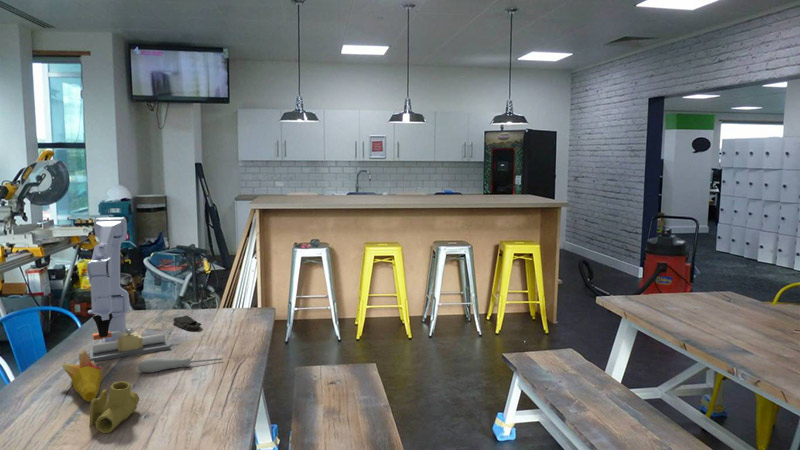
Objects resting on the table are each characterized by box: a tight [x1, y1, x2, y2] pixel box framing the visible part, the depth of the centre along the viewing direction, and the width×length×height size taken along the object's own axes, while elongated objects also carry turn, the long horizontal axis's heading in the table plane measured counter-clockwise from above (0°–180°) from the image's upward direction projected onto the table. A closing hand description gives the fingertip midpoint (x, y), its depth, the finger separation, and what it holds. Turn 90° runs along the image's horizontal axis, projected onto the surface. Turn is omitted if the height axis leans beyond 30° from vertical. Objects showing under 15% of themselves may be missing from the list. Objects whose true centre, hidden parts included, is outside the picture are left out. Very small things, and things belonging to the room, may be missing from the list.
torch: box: [60, 346, 103, 402], centre depth 154 cm, size 8×8×25 cm
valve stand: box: [88, 331, 171, 363], centre depth 186 cm, size 10×24×6 cm, turn 122°
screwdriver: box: [137, 356, 223, 374], centre depth 172 cm, size 5×25×4 cm, turn 114°
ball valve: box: [89, 380, 140, 434], centre depth 136 cm, size 13×10×10 cm
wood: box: [172, 315, 202, 332], centre depth 216 cm, size 22×8×3 cm, turn 39°
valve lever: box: [92, 327, 134, 341], centre depth 182 cm, size 12×3×2 cm, turn 129°
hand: (103, 336), depth 179 cm, fingers closed, pressing on valve lever
